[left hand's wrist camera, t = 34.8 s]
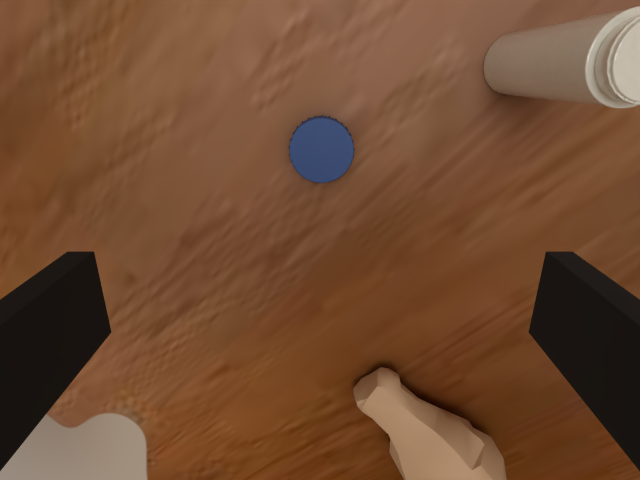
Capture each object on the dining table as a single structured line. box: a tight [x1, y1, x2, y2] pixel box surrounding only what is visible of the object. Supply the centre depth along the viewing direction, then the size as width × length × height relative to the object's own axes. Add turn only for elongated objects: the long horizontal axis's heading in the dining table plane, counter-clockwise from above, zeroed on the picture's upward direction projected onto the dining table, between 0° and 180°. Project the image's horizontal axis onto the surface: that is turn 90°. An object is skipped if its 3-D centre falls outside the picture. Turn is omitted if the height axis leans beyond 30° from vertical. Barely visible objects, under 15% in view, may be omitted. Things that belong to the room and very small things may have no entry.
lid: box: [289, 115, 354, 183], centre depth 37 cm, size 6×6×2 cm
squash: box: [353, 367, 506, 480], centre depth 46 cm, size 11×20×9 cm, turn 46°
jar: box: [483, 6, 640, 109], centre depth 28 cm, size 5×5×16 cm
